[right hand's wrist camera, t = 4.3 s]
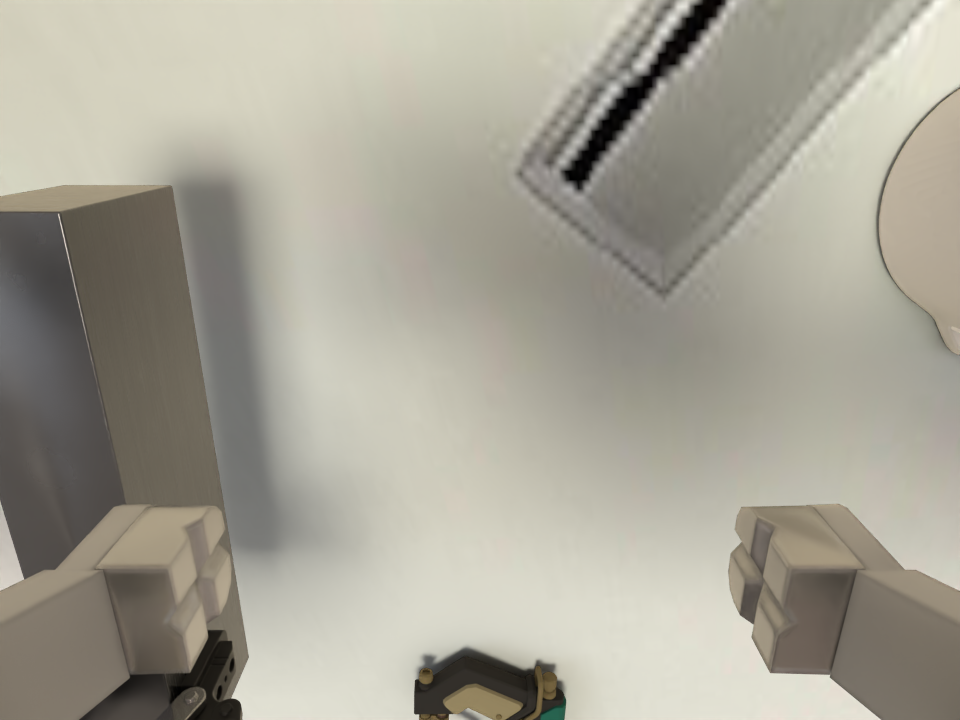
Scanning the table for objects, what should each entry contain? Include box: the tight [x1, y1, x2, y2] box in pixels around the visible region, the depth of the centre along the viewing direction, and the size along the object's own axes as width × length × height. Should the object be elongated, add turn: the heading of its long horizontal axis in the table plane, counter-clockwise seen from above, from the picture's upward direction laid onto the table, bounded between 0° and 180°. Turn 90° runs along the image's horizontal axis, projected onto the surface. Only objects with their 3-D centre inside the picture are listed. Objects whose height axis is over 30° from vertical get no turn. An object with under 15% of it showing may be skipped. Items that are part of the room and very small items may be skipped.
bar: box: [0, 185, 249, 720], centre depth 29 cm, size 27×5×8 cm, turn 0°
